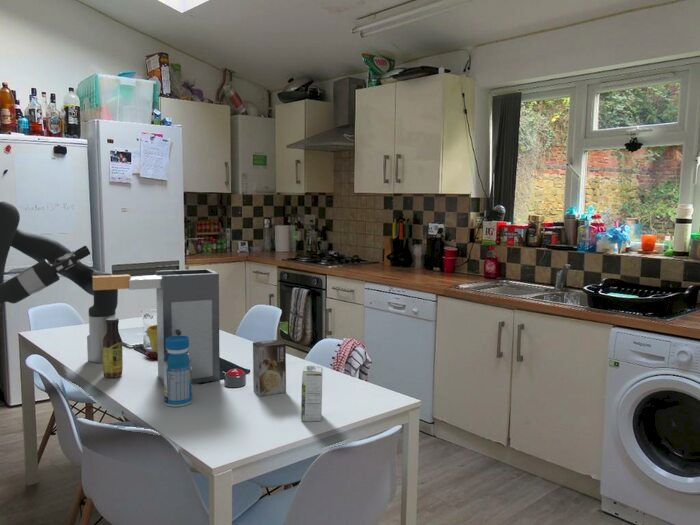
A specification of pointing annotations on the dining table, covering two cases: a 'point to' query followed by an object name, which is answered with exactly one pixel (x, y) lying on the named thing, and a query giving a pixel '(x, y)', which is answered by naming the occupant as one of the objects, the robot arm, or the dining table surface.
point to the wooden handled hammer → (126, 282)
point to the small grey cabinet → (190, 319)
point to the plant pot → (153, 337)
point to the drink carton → (311, 393)
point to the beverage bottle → (177, 372)
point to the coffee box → (269, 367)
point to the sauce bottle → (112, 350)
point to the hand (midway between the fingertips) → (88, 249)
